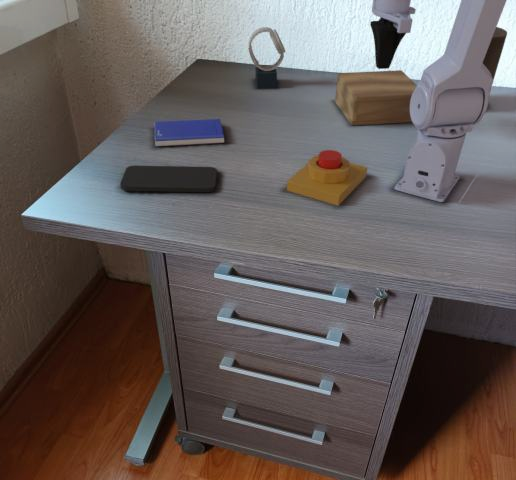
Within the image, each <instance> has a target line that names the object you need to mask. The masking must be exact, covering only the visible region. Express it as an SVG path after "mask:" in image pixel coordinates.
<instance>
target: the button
mask: <svg viewBox="0 0 516 480" xmlns="http://www.w3.org/2000/svg"><path fill="white" fill-rule="evenodd" d="M318 155H319V158H318V166H319V167H320V168H324V169H338V168H340V167H341V159H342V157H343V155H342V153H341V152H340V151H337V150H334V149H325V150H322V151H320V152H319V153H318Z"/></svg>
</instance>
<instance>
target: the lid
mask: <svg viewBox="0 0 516 480" xmlns="http://www.w3.org/2000/svg"><path fill="white" fill-rule="evenodd" d="M337 78H339V80H340V81H341V82H342V84H343V85H344V86H345V87H346V89H347V90H348V91H349V93H350V94H351V95H352V97H353V98H354V99H355V100H356V101H373V100H393V99H411V96H412V94H413V92H414V90H415V88H416V87H417V85H418V84H417V83H415V82H414V80H413V79H411V78H410V77H409V76H408V75H407V74H406V73H405V72H404V71H403V70H400V69H399V70H397V69H396V70H379V71H378V70H377V71H357V72H356V71H355V72H338V73H337Z"/></svg>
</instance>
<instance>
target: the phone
mask: <svg viewBox="0 0 516 480" xmlns="http://www.w3.org/2000/svg"><path fill="white" fill-rule="evenodd" d="M122 175H123V176H122V178H121V181H120V189H121V190H123V191H125V192H126V191H128V192H132V191H133V192H172V193H173V192H176V193H177V192H178V193H211V192H214V191H216V187H217V178H218V169H217V168H216V167H213V166H182V165H181V166H180V165H179V166H177V165H175V166H174V165H129V166H127V167H126V168H125V170H124V173H123V174H122Z"/></svg>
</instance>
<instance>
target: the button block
mask: <svg viewBox="0 0 516 480" xmlns="http://www.w3.org/2000/svg"><path fill="white" fill-rule="evenodd" d="M318 158H319V154H317V155H314V156H312V157H311V158H310V159H309V160H308V163H307V164H306V165H304V166H303V167H302V168H301V169H300V170H298V171H297V172H296V173H295V174H294V175H292V176H291V177H290V178H289V179H288V180H286V181H287V182H286V191H287V192H290V193H293V194H294V193H295V194H298V195H301V196H305V197H308V198H311V199H315V200H318V201H321V202H325V203H328V204H331V205H335V206H339V205H341V203H343V202H344V200H345V199H346V198H347V197H348V196H349V195H350V194H351V193H352V192H353V191H354V190H355V189H356V188H357V187H358V186H359V185H360V184H361V183H362V182H363V180H365V179H366V177H367V173H368V167H367V166H364V165H359V164H355V163H352V162H350V161H349V159H347V158H345V157H344V156H342V159H341V167H340V168H338V169H324V168H320V167H319V166H318Z"/></svg>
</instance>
